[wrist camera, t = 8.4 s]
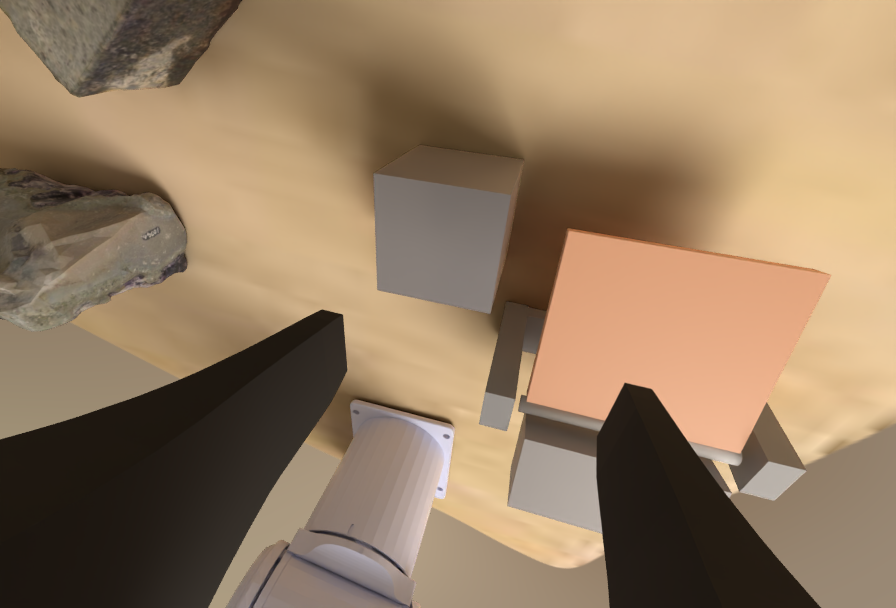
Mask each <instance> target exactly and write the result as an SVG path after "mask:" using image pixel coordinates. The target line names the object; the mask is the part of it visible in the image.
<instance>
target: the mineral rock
mask: <svg viewBox="0 0 896 608" xmlns="http://www.w3.org/2000/svg"><path fill="white" fill-rule="evenodd" d="M186 244H187V235H186V230H185V228H184V227H183V225H182V223H181V222H180V220H179V219H178V217H177V216H176V214H175V212H174V211H173V209H172V207H171V206H170V204H169V203H168V202H166V201H164V200H163V199H162V198H161V197H160V196H158V195H156V194H153V193H150V192H145V193H143V194H140V195H137V194H134V195H132V196H128V195H127V194H125V193H124V192H121V191H118V190H115V189H114V190H101V191H96V192H95V191H94V190H92V189H89V188H87V187H82V186H77V185H65V184H62V183H60V182H57V181H54V180H52V179H50V178H48V177H46V176H44V175H41V174H39V173H37V172H34V171H29V170H18V169H16V168H13V169H2V168H0V319H4V320H7V321H10V322H12V323H13V324H15V325H16V326H18V327H20V328H23V329H26V330H29V331H44V330H48V329H52V328H55V327H58V326H61V325H64V324H66V323H68V322H70V321H72V320H73V319H75V318H76V317H77V316H78V315H79V314H80V313H81V312H82V311H84V310H86V309H89V308H90V307H93V306H95V305H98V304H105V303H107V302H109V301H110V300H111V296H114V295H117V294H120V293H123V292H125V291H126V290H130V289H132V288H133V287H135V288H137V287H146V288H147V287H150V286H153V285H154V284H159V283H162V282H163V281H164V280H165V279H166V278H168V277H169V276H171V275H172V274H174V273H178V272H184V271H185V270H186V268H187V261H186V258H185V257H184V252H185V249H186Z"/></svg>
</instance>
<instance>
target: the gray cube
mask: <svg viewBox="0 0 896 608" xmlns="http://www.w3.org/2000/svg"><path fill="white" fill-rule="evenodd" d="M523 166H524V159H517V158H510V157H502V156H495V155H488V154H481V153H474V152H467V151H460V150H453V149H446V148H438V147H431V146H424V145H418V146H417V147H415V148H414V149H412V150H410V151H409V152H407V153H405V154H404V155H402V156H401V157H399V158H397V159H396V160H394V161H393V162H391V163H389V164H388V165H386V166H384V167H383V168H381V169H380V170H378V171H376V172H375V173H373V176H374V206H375V235H376V264H377V290H379V291H384V292H389V293H394V294H398V295H403V296H408V297H412V298H417V299H422V300H427V301H431V302H436V303H441V304H446V305H450V306H455V307H460V308H464V309H469V310H474V311H479V312H483V313H488V314H490V313H491V310H492V306H493V303H494V299H495V296H496V292H497V289H498V285H499V282H500V278H501V275H502V271H503V268H504V265H505V261H506V257H507V252H508V247H509V241H510V236H511V230H512V225H513V220H514V214H515V209H516V203H517V198H518V193H519V187H520V182H521V176H522V171H523Z"/></svg>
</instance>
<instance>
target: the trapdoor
mask: <svg viewBox="0 0 896 608" xmlns="http://www.w3.org/2000/svg"><path fill="white" fill-rule="evenodd" d="M830 277H831V275H830V274H827V273H824V272H821V271H818V270H815V269H809V268H803V267H797V266H791V265H785V264H779V263H773V262H767V261H761V260H755V259H749V258H743V257H738V256H732V255H726V254H720V253H714V252H708V251H702V250H696V249H690V248H684V247H678V246H672V245H666V244H660V243H654V242H648V241H642V240H636V239H630V238H624V237H618V236H612V235H606V234H600V233H594V232H588V231H582V230H576V229H570V228H567V231H566V235H565V239H564V243H563V247H562V251H561V255H560V259H559V264H558V268H557V272H556V276H555V280H554V284H553V288H552V292H551V296H550V300H549V304H548V308H547V312H546V316H545V320H544V324H543V328H542V333H541V337H540V341H539V345H538V349H537V353H536V357H535V361H534V365H533V369H532V373H531V377H530V381H529V385H528V389H527V396H525V395H521V398H520V403H519V409H518V411H519V412H523V413H524V417H523V421H522V425H521V429H520V433H519V437H518V441H517V445H516V449H515V453H514V457H513V461H512V465H511V473H510V484H509V495H508V505H507V506H509V507H512V508H516V509H519V510H523V511H526V512H530V513H533V514H536V515H540V516H543V517H547V518H550V519H554V520H557V521H560V522H564V523H567V524H571V525H574V526H577V527H581V528H584V529H588V530H591V531H595V532H598V533H601V534H602V526H601V517H600V508H599V499H598V489H597V479H596V453H597V435H598V433H599V431H600V430H601V428H602V426H603V424H604V422H605V420H606V418H607V416H608V414H609V412H610V410H611V408H612V406H613V404H614V403H615V401H616V399H617V397H618V395H619V393H620V391H621V389H622V387H623V385H624V383H629V384H633V385H637V386H641V387H646V388H650V389H652V390H653V391H654V393H655V394H656V395H657V397H658V398H659V400H660V401H661V403H662V404H663V406H664V407H665V408H666V410H667V411H668V413H669V414H670V416H671V417H672V419H673V420H674V422H675V423H676V425H677V426H678V428H679V429H680V431H681V432H682V433H683V435H684V436H685V438H686V439H687V441H688V442H689V444H690V445H691V447H692V448H693V449H694V451H695V452H696V454H697V455H698V457H699V458H700V459H701V461H702V462H703V464H704V465H705V466H706V468H707V469H708V470H709V472H710V473H711V475H712V476H713V477H714V479H715V480H716V481H717V483H718V484H719V485H720V487H721V488H722V489H723V491H724V492H725V493H726V495H727V496H728V497H729V498H730V496H731V494H732V492H731V491H730V489H729V488H728V486H727V484H726V483H725V481H724V479H723V478H722V476H721V475H720V473H719V471H718V470H717V468H716V466H715V465H714V463H713V462H712V460H715V461H719V462H723V463H727V464H731V465H735V466H738V465H740V464H741V462H742V452H741V451H742V449H743V447H744V445H745V443H746V441H747V440H748V438H749V436H750V434H751V432H752V430H753V428H754V426H755V424H756V422H757V420H758V418H759V416H760V414H761V412H762V410H763V408H764V406H765V404H766V402H767V400H768V398H769V396H770V394H771V393H772V391H773V389H774V387H775V385H776V383H777V381H778V379H779V377H780V375H781V373H782V371H783V369H784V367H785V365H786V363H787V361H788V359H789V357H790V355H791V353H792V351H793V349H794V347H795V346H796V344H797V342H798V340H799V338H800V336H801V334H802V332H803V330H804V328H805V326H806V324H807V322H808V320H809V318H810V316H811V314H812V312H813V310H814V308H815V306H816V304H817V302H818V300H819V299H820V297H821V295H822V293H823V291H824V289H825V287H826V285H827V283H828V281H829V279H830Z"/></svg>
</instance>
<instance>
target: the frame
mask: <svg viewBox="0 0 896 608" xmlns="http://www.w3.org/2000/svg"><path fill="white" fill-rule="evenodd" d="M546 312H547V311H544V310H539V309H534V308H529V307H528V306H527V305H522V304H517V303H512V302H507V301H506V305H505V309H504V313H503V318H502V322H501V326H500V331H499V335H498V339H497V343H496V348H495V352H494V356H493V361H492V365H491V369H490V374H489V378H488V382H487V386H486V391H485V396H484V401H483V406H482V411H481V416H480V422H479V424H480V425H484V426H488V427H492V428H496V429H500V430H504V431H507V429H508V425H509V421H510V417H511V414H512V410H513V406H514V402H515V398H516V391H517V383H518V376H519V369H520V362H521V355H522V351H525V352H529V353H534V354H536V353H537V349H538V345H539V341H540V337H541V333H542V328H543V324H544V320H545V316H546ZM741 452H742V462H741V464H740V465H738V466H735V465H731V464H729V467H730V469H731V472H732V474H733V477H734V479H735V482H736V484H737V487H738V489H739V492H742V493H746V494H750V495H754V496H758V497H761V498H766V499H769V500H773V501H774V500H775V499H777V498H778V497H779V496H780V495H781V494H782V493H783V492H784V491H785V490H786V489H787V488H789V487H790V486H791V485H792V484H793V483H794V482H795V481H796V480H797V479H798V478H799V477H800V476H801V475H803V474H804V473H805V472H806V471H807V470H806V469H805V467H804V465H803V464H802V462H801V460H800V458H799V457H798V455H797V453H796V452H795V450H794V448H793V446H792V445H791V443H790V441H789V439H788V438H787V436H786V434H785V433H784V431H783V429H782V427H781V426H780V424H779V422H778V421H777V419H776V417H775V415H774V414H773V412H772V410H771V409H770V407H769V405H768V403H767V402H766V404H765V406H764V408H763V410H762V412H761V414H760V416H759V418H758V420H757V422H756V424H755V426H754V428H753V430H752V432H751V434H750V436H749V438H748V440H747V441H746V443H745V445H744V447H743V449H742V451H741Z"/></svg>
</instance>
